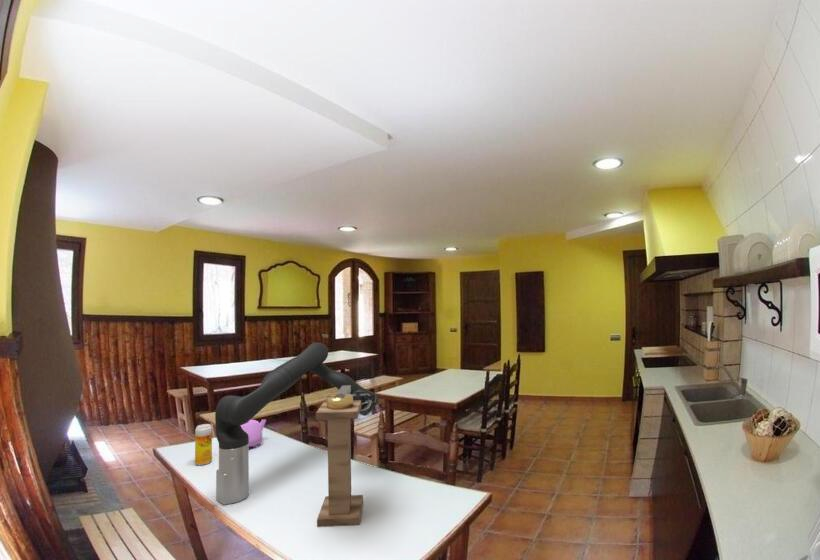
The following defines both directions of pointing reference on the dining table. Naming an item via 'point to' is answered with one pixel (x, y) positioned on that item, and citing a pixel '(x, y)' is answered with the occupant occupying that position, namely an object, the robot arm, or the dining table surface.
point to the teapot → (254, 431)
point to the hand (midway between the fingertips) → (354, 397)
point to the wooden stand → (339, 469)
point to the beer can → (203, 444)
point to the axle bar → (340, 399)
